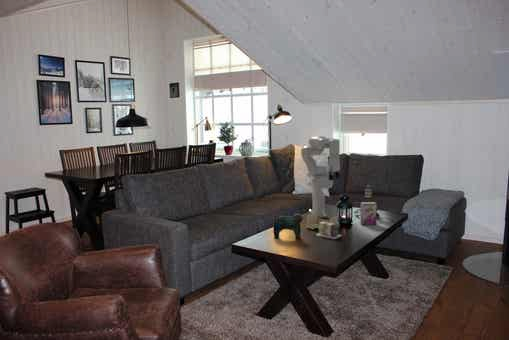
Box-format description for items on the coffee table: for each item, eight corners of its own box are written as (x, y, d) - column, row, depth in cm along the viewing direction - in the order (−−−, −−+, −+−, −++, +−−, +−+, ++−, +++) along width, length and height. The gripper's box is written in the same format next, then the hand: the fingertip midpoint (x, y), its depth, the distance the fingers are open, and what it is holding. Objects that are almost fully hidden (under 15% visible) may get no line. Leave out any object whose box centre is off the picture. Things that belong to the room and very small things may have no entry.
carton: (306, 227, 311) (306, 216, 310) (317, 223, 323) (317, 211, 321) (328, 232, 299) (328, 219, 298) (339, 227, 311) (339, 215, 309)
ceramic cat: (303, 237, 290) (302, 208, 287) (302, 240, 284) (302, 210, 281) (274, 236, 293) (273, 208, 290) (273, 239, 287) (272, 210, 284)
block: (319, 234, 294) (319, 223, 293) (322, 232, 298) (322, 221, 297) (334, 237, 286) (334, 225, 285) (338, 235, 290) (338, 224, 289)
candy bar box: (361, 225, 315) (361, 203, 312) (360, 223, 320) (360, 202, 317) (376, 225, 314) (377, 203, 311) (375, 223, 319) (375, 202, 316)
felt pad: (315, 235, 293) (315, 234, 293) (322, 232, 300) (322, 231, 300) (335, 239, 284) (335, 238, 284) (341, 235, 291) (341, 235, 291)
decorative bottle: (387, 218, 331) (388, 187, 327) (362, 221, 326) (363, 189, 322) (373, 212, 352) (373, 182, 348) (349, 214, 347) (350, 184, 344)
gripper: (335, 154, 321) (335, 177, 323) (323, 157, 308) (323, 180, 310) (344, 155, 316) (344, 177, 319) (332, 157, 303) (332, 181, 305)
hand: (334, 179), depth 314 cm, fingers open, 9 cm apart
